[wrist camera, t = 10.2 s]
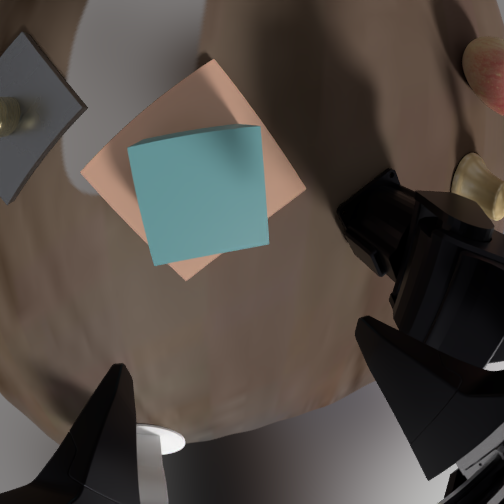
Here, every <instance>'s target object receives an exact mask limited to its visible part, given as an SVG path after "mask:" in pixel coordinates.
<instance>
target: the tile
mask: <svg viewBox="0 0 504 504" xmlns="http://www.w3.org/2000/svg"><path fill="white" fill-rule="evenodd" d="M231 124H246V125H256V126H261V138H262V151H263V163H264V176H265V190H266V204H267V218H269V217H270V216H271V215H273V214H274V213H275V212H277V211H278V210H279V209H281V208H282V207H283V206H285V205H286V204H287V203H289V202H290V201H291V200H293V199H294V198H295V197H297V196H298V195H299V194H301V193H302V192H303V191H305V190H306V187H305V186H304V184H303V182H302V181H301V179H300V178H299V176H298V175H297V173H296V171H295V170H294V168H293V167H292V165H291V164H290V162H289V161H288V159H287V158H286V156H285V155H284V153H283V152H282V150H281V149H280V147H279V146H278V144H277V143H276V141H275V140H274V138H273V137H272V135H271V134H270V133H269V131H268V130H267V128H266V127H265V125H264V124H263V123H262V121H261V120H260V118H259V117H258V116H257V114H256V113H255V111H254V110H253V109H252V107H251V106H250V105H249V103H248V102H247V101H246V99H245V98H244V97H243V95H242V94H241V93H240V91H239V90H238V89H237V87H236V86H235V85H234V83H233V82H232V81H231V79H230V78H229V77H228V76H227V74H226V73H225V72H224V71H223V69H222V68H221V67H220V66H219V64H218V63H217V62H216V61H215V59H213V60H211V61H210V62H208V63H206V64H205V65H203V66H202V67H200V68H199V69H197V70H196V71H194V72H193V73H192V74H190V75H189V76H188V77H186V78H184V79H183V80H182V81H180V82H179V83H178V84H176V85H175V86H174V87H172V88H171V89H170V90H168V91H167V92H166V93H164V94H163V95H162V96H161V97H159V98H158V99H157V100H155V101H154V102H153V103H152V104H151V105H149V106H148V107H147V108H146V109H145V110H143V111H142V112H141V113H140V114H139V115H138V116H136V117H135V118H134V119H133V120H132V121H131V122H130V123H129V124H127V125H126V126H125V127H124V128H123V129H122V130H121V131H120V132H119V133H118V134H117V135H116V136H115V137H114V138H112V139H111V140H110V141H109V142H108V143H107V144H106V145H105V146H104V147H103V148H102V149H101V150H100V151H99V152H98V153H97V155H95V157H94V158H93V159H92V160H91V161H90V162H89V163H88V164H87V165H86V166H85V167H84V168H83V170H81V172H80V173H81V174H82V175H83V176H84V177H85V178H86V180H87V181H88V182H89V183H90V184H91V185H92V186H93V187H94V188H95V190H96V191H97V192H98V193H99V194H100V195H101V196H102V197H103V198H104V199H105V201H106V202H107V203H108V204H109V205H110V206H111V207H112V208H113V209H114V210H115V211H116V212H117V213H118V214H119V215H120V216H121V217H122V219H123V220H124V221H125V222H126V223H127V224H128V225H129V226H130V227H131V228H132V229H133V230H134V231H135V232H136V233H137V234H138V235H139V236H140V237H141V238H142V239H143V240H144V241H145V242H146V243H147V244H148V241H147V237H146V233H145V229H144V225H143V221H142V217H141V213H140V209H139V204H138V200H137V196H136V191H135V186H134V181H133V176H132V171H131V166H130V161H129V155H128V149H127V148H128V147H130V146H131V145H133V144H135V143H137V142H139V141H141V140H143V139H147V138H152V137H156V136H161V135H166V134H172V133H177V132H183V131H189V130H195V129H201V128H208V127H215V126H223V125H231ZM220 254H222V253H219V254H214V255H209V256H204V257H198V258H193V259H188V260H183V261H178V262H172V263H168V264H169V265H170V266H171V267H172V268H173V269H174V270H175V271H176V272H177V273H178V274H179V275H180V276H181V277H182V278H183V279H184V280H186V281H187V280H188V279H189V278H191V277H192V276H193V275H195V274H196V273H197V272H198V271H200V270H201V269H202V268H204V267H205V266H206V265H207V264H209V263H210V262H211V261H213V260H214V259H215V258H216V257H218V256H219V255H220Z"/></svg>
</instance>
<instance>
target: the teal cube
mask: <svg viewBox="0 0 504 504" xmlns="http://www.w3.org/2000/svg"><path fill="white" fill-rule="evenodd" d="M127 149H128V155H129V161H130V166H131V171H132V176H133V181H134V186H135V191H136V196H137V200H138V204H139V209H140V213H141V217H142V221H143V225H144V229H145V233H146V237H147V241H148V245H149V248H150V252H151V256H152V259H153V263H154V266H157V265H162V264H167V263H172V262H178V261H183V260H188V259H193V258H198V257H204V256H209V255H214V254H219V253H225V252H230V251H235V250H241V249H246V248H251V247H256V246H262V245H267V244H269V233H268V218H267V204H266V190H265V176H264V163H263V151H262V138H261V126H256V125H246V124H231V125H223V126H215V127H208V128H201V129H195V130H189V131H183V132H177V133H172V134H166V135H161V136H156V137H152V138H147V139H143V140H141V141H139V142H137V143H135V144H133V145H131V146H130V147H128V148H127Z"/></svg>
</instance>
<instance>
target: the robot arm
mask: <svg viewBox="0 0 504 504" xmlns="http://www.w3.org/2000/svg"><path fill="white" fill-rule="evenodd" d="M390 173H391V176H390ZM343 210H345V212H344V213H343V214H342V211H343ZM337 214H338V216H339V218H340V220H341V222H342V224H343V226H344V227H345V229H346V231H345V237H346V239H347V241H348V243H349V245H350V247H351V248H352V250H353V252H354V254H355V255H356V256H357V257H358V258H359V259H360V260H362V261H363V262H364V263H365V264H366V265H367V266H368V267H369V268H370V269H371V270H372V271H374V272H375V273H376V274H377V275H378V276H380V277H383V276H384V275H385V274H386V275H388V276H389V277H390V278H391V279H392V280H393V281H394V282H395V286H394V289H393V292H392V293H391V294H390V298H389V302H390V304H391V306H392V309H393V319H394V321H395V323H396V325H397V327H398V328H399V330H397V329H395V328H393V327H391V326H389V325H387V324H385V323H383V322H381V321H379V320H377V319H375V318H373V317H371V316H364V317H361V318H359V319H358V322H357V326H356V330H355V337H356V340H357V342H358V344H359V347H360V349H361V351H362V354H363V356H364V358H365V361H366V363H367V365H368V367H369V369H370V371H371V373H372V375H373V377H374V378H375V380H376V382H377V384H378V385H379V387H380V389H381V391H382V393H383V394H384V396H385V398H386V400H387V402H388V404H389V406H390V407H391V409H392V411H393V413H394V415H395V416H396V419H397V420H398V422H399V424H400V426H401V428H402V430H403V432H404V434H405V436H406V437H407V440H408V442H409V443H410V446H411V448H412V449H413V452H414V454H415V456H416V458H417V460H418V462H419V464H420V466H421V468H422V470H423V472H424V474H425V476H426V478H427V480H428V481H429V480H431V479H432V478H434V477H436V476H437V475H439V474H440V473H442V472H443V471H445V470H446V469H448V468H449V467H450V466H452V465H453V464H455V463H456V464H457V466H458V469H457V470H455V471H454V472H453V473H452V474H450V478H449V482H448V485H447V489H446V492H445V496H444V499H443V500H442V501H440V502H439V503H438V504H504V370H500V371H488V370H484V369H485V367H486V366H487V364H488V363H495V362H501V361H504V234H502V233H500V232H498V231H496V230H494V224H493V223H492V222H491V220H490V219H489V218H488V216H487V215H486V214H485V212H484V211H483V210H482V208H481V207H480V206H479V205H478V203H477V202H475V201H473V200H471V199H468V198H466V197H463V196H460V195H458V194H455V193H451V192H435V191H412V190H410V189H408V188H406V187H404V186H401V185H400V182H399V180H398V177H397V174H396V172H395V170H393V169H390V168H389V169H387V170H385V171H384V172H383V173H382V174H380V175H379V176H378V177H377V178H375V179H374V180H373V181H371V182H370V183H369V184H368V185H366V186H365V187H364V188H363V189H361V190H360V191H359V192H357V193H356V194H355V195H354V196H352V197H351V198H350V199H348V200H347V201H346V202H344V203H343V204H342V205H341V206H339V208H338V209H337ZM0 504H140V495H139V483H138V468H137V441H136V410H135V400H134V389H133V380H132V377H131V375H130V373H129V371H128V370H127V368H126V366H125V365H124V364H123V363H119V364H113V365H112V366H111V368H110V369H109V371H108V372H107V374H106V375H105V377H104V378H103V380H102V381H101V383H100V384H99V386H98V387H97V389H96V390H95V392H94V393H93V395H92V396H91V398H90V399H89V401H88V402H87V404H86V405H85V407H84V409H83V410H82V412H81V413H80V415H79V416H78V418H77V419H76V421H75V423H74V424H73V426H72V427H71V429H70V432H68V434H67V435H66V437H65V439H64V440H63V442H62V443H61V445H60V446H59V448H58V449H57V451H56V452H55V453H54V455H53V456H52V458H51V459H50V460H49V461H48V463H47V464H46V466H45V467H44V468H43V469H42V471H41V472H40V473H39V475H38V476H37V477H36V478H35V479H34V480H33V481H32V482H31V483H29V484H27V485H25V486H22V487H19V488H16V489H13V490H10V491H7V492H4V493H1V494H0Z"/></svg>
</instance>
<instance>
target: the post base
mask: <svg viewBox="0 0 504 504" xmlns="http://www.w3.org/2000/svg"><path fill="white" fill-rule="evenodd" d="M87 108H88V107H87V106H86V105H85V103H84V102H83V101H82V100H81V99H80V98H79V96H78V95H77V94H76V93H75V91H74V90H73V89H72V88H71V86H70V85H69V84H68V83H67V82H66V80H65V79H64V78H63V77H62V75H61V74H60V73H59V72H58V70H57V69H56V68H55V67H54V65H53V64H52V63H51V62H50V60H49V59H48V58H47V57H46V55H45V54H44V53H43V51H42V50H41V49H40V48H39V46H38V45H37V44H36V42H35V41H34V40H33V39H32V37H31V36H30V35H29V34H27V33H24V32H21V33H20V35H19V36H18V37H17V38H16V39H15V40H14V41H13V42H12V44H11V45H10V46H9V47H8V48H7V50H6V51H5V52H4V53H3V55H2V56H1V57H0V197H1V198H2V199H3V201H4V202H5V203H6V204H7V205H8V204H10V203H11V202H13V201H14V200H15V199H16V197H17V196H18V194H19V193H20V191H21V190H22V188H23V187H24V185H25V184H26V182H27V181H28V179H29V178H30V176H31V175H32V174H33V172H34V171H35V169H36V168H37V167H38V165H39V164H40V163H41V161H42V160H43V159H44V157H45V156H46V155H47V154H48V152H49V151H50V150H51V149H52V147H53V146H54V145H55V144H56V143H57V141H58V140H59V139H60V138H61V137H62V136H63V134H64V133H65V132H66V131H67V130H68V129H69V127H70V126H71V125H72V124H73V123H74V122H75V121H76V120H77V119H78V118H79V117H80V116H81V115H82V114H83V113H84V112H85V111H86V110H87Z"/></svg>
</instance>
